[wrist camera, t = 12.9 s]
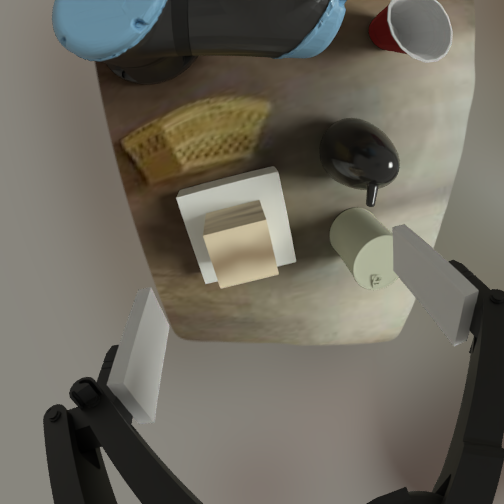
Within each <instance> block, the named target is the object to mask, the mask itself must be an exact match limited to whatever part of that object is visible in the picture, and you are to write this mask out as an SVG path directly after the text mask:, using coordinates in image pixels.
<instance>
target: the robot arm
mask: <svg viewBox="0 0 504 504" xmlns="http://www.w3.org/2000/svg"><path fill="white" fill-rule="evenodd" d="M346 1H347V0H55V2H54V6H53V12H52V13H53V14H52V22H53V28H54V32H55V35H56V37H57V39H58V40H59V42H60V43H61V44H62V45H63V46H64V47H65V48H66V49H67V50H69V51H70V52H72V53H74V54H76V55H77V56H79V57H80V58H83V59H85V60H86V59H87V60H89V61H99V62H104V63H106V64H107V65H108V67H109V68H110V69H111V70H112V71H113V72H114V73H115V74H116V75H118V76H119V77H121V78H122V79H124V80H127V81H130V82H133V83H139V84H156V83H161V82H165V81H168V80H170V79H172V78H174V77H176V76H178V75H180V74H181V73H182V72H184V71H185V70H186V69H187V68H188V67H189V66H190V65H191V64H192V63H193V62H194V61H195V59H196V58H197V56H213V55H218V56H255V57H270V58H273V59H282V58H310V57H314V56H316V55H318V54H320V53H321V52H322V51H324V50H325V49H326V48H327V47H328V46H329V44H330V43H331V42H332V40H333V39H334V37H335V36H336V34H337V32H338V30H339V28H340V26H341V23H342V21H343V18H344V15H345V11H346V9H345V8H344V4H345V2H346ZM393 271H394V272H395V273H396V274H397V276H398V277H399V278H400V279H401V280H402V282H403V283H404V284H405V285H406V286H407V288H408V289H409V290H410V291H411V292H412V294H413V295H414V296H415V297H416V299H417V300H418V301H419V302H420V303H421V305H422V306H423V307H424V308H425V310H426V311H427V312H428V314H429V315H430V316H431V317H432V318H433V320H434V321H435V322H436V324H437V325H438V326H439V328H440V329H441V330H442V332H443V333H444V334H445V335H446V337H447V338H448V339H449V341H450V342H451V344H452V345H453V346H456V345H458V344H460V343H462V342H464V341H467V338H468V335H469V331H471V333H472V334H473V335H474V338H473V342H472V345H471V348H470V351H469V353H471V356H470V362H469V368H468V374H467V379H466V384H465V390H464V394H463V399H462V403H461V408H460V411H459V415H458V419H457V423H456V427H455V431H454V434H453V438H452V441H451V444H450V448H449V451H448V454H447V457H446V460H445V463H444V466H443V469H442V471H441V474H440V476H439V478H438V480H437V482H436V484H435V486H434V488H433V491H432V492H426V491H411V492H408V491H407V488H406V487H404V488H402V489H399V490H397V491H394V492H391V493H389V494H386V495H383V496H380V497H377V498H376V499H374V500H372V501H370V502H369V503H367V504H492V503H493V500H494V496H495V493H496V489H497V486H498V482H499V478H500V474H501V469H502V465H503V461H504V449H503V448H502V446H501V445H502V439H503V433H504V291H501V290H498V289H496V290H495V289H492V290H490V289H489V288H488V287H487V286H486V285H485V284H484V283H483V282H482V281H481V280H479V279H478V278H477V277H476V276H475V275H473V273H472V272H471V271H469V270H468V269H467V268H466V267H465V266H464V265H463V264H461V263H459V262H457V261H455V260H451V261H447V260H446V259H445V258H443V257H442V256H441V255H440V254H439V253H438V252H437V251H436V250H434V249H433V248H432V247H431V246H430V245H429V244H427V243H426V242H425V241H424V240H423V239H422V238H420V237H419V236H418V235H417V234H416V233H415V232H413V231H412V230H411V229H410V228H408V227H407V226H406V225H405V224H403V225H399V226H395V227H393ZM169 327H170V326H169V324H168V322H167V320H166V318H165V316H164V314H163V312H162V309H161V308H160V305H159V303H158V301H157V299H156V297H155V294H154V292H153V290H152V288H151V287H149V288H145V289H140V290H138V292H137V295H136V298H135V301H134V303H133V306H132V309H131V312H130V314H129V317H128V320H127V323H126V326H125V329H124V332H123V335H122V338H121V341H120V344H119V345H114V346H112V347H111V348H110V350H109V351H108V352H107V353H106V356H105V359H104V363H103V365H102V368H101V369H102V370H101V371H100V374H99V377H98V380H97V383H96V381H95V380H94V379H93V378H91V377H85V378H81V379H80V380H78V381H76V382H75V383H74V384H73V386H72V387H71V389H70V392H69V394H70V398H71V399H72V400H73V401H74V403H75V404H76V405H77V406H78V407H76V408H73V409H70V410H67V409H66V408H65V407H64V406H63V405H60V404H57V405H53V406H52V407H50V408H49V409H48V410H47V411H46V413H45V415H44V419H43V422H44V423H43V424H44V436H45V446H46V455H47V463H48V470H49V476H50V483H51V488H52V494H53V499H54V504H117V501H116V499H115V496H114V493H113V490H112V487H111V484H110V481H109V478H108V474H107V471H106V468H105V465H104V461H103V458H102V454H101V452H100V447H103V449H104V450H105V452H106V453H107V455H108V456H109V458H110V460H111V461H112V462H113V464H114V466H115V467H116V469H117V470H118V471H119V473H120V474H121V476H122V477H123V479H124V480H125V481H126V483H127V484H128V486H129V487H130V488H131V490H132V491H133V492H134V494H135V495H136V496H137V498H138V499H139V500H140V502H141V503H142V504H203V503H202V502H201V501H200V500H199V499H198V498H197V497H196V496H195V495H194V494H193V493H192V492H191V491H190V490H189V489H188V488H187V487H186V486H185V485H184V484H183V483H182V482H181V481H180V480H179V479H178V478H177V477H176V476H175V475H174V474H173V473H172V471H171V470H170V469H169V468H168V467H167V466H166V465H165V464H164V463H163V461H161V459H160V458H159V457H158V456H157V455H156V453H155V452H154V451H153V450H152V449H151V448H150V446H149V445H148V444H147V443H146V442H145V440H144V439H143V438H142V437H141V436H140V434H139V433H138V432H137V431H136V429H135V428H134V427H133V426H132V425H131V423H132V417H133V418H134V419H135V420H136V421H137V422H138V424H147V423H154V422H155V415H156V407H157V400H158V393H159V386H160V380H161V374H162V367H163V361H164V355H165V350H166V344H167V338H168V332H169Z"/></svg>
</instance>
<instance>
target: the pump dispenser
mask: <svg viewBox="0 0 504 504" xmlns="http://www.w3.org/2000/svg"><path fill="white" fill-rule="evenodd" d="M320 160H321V163H322V166H323V168H324V169H325V171H326V172H327V174H328V175H329V176H330V177H331V178H333V179H334V180H335V181H337V182H339V183H341V184H343V185H345V186H348V187H351V188H354V189H360V190H367V200H366V205H367V206H369V207H374V205H375V201H376V196H377V191H378V189H379V188H382V187H385V186H387V185H389V184H390V183H391V182H393V181H394V179H395V178H396V177H397V175H398V172H399V168H400V160H399V155H398V152H397V150H396V148H395V146H394V145H393V143H392V142H391V140H390V139H389V138H388V137H387V135H386V134H385V133H384V132H383V131H381V130H380V129H379V128H377V127H376V126H374V125H373V124H371V123H369V122H367V121H364V120H361V119H357V118H346V119H342V120H339V121H337V122H336V123H334V124H333V125H331V126H330V127H329V128H328V129H327V131H326V132H325V134H324V135H323V137H322V140H321V143H320Z"/></svg>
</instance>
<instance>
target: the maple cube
mask: <svg viewBox="0 0 504 504" xmlns="http://www.w3.org/2000/svg"><path fill="white" fill-rule="evenodd" d="M203 238H204V241H205V244H206V247H207V250H208V253H209V256H210V259H211V262H212V265H213V268H214V271H215V274H216V277H217V280H218V282H219V285H220V288H225V287H229V286H233V285H237V284H242V283H246V282H250V281H254V280H258V279H262V278H266V277H270V276H274V275H278V274H279V273H278V268H277V264H276V260H275V255H274V251H273V246H272V242H271V238H270V233H269V229H268V225H267V220H266V217H265V214H264V212H263V209H262V206H261V203H260V200H257V201H252V202H248V203H244V204H241V205H237V206H233V207H229V208H225V209H221V210H217V211H213V212H210V213H206V216H205V224H204V231H203Z"/></svg>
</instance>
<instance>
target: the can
mask: <svg viewBox="0 0 504 504" xmlns="http://www.w3.org/2000/svg"><path fill="white" fill-rule="evenodd" d="M330 242H331V245H332V247H333V248H334V250H335V251H336V252H338V254H339V255H340V257H341V258H342V260H343V261H344V263H345V264H346V266H347V267H348V269H349V270H350V272H351V273H352V275H353V277H354V279H355V281H356V282H357V283H358V284H359V285H360V286H361V287H363V288H365V289H368V290H378V289H382V288H385V287H387V286H389V285H391V284H392V283H393V282H394V281H396V280H397V279H398V278H399V277H398V276H397V274H396V273H395V272H394V271H393V233H392V232H390V231H389V230H388V229H387V228H386V227H385V226H384V225H383V224H382V223H380V222H379V221H378V220H377V219H376V218H375V217H374V215H373V214H372V213H371V212H369V211H368V210H366V209H363V208H351V209H348V210H346V211H344V212H342V213H341V214H340V215H339V216H338V217H337V218H336V219H335V220H334V222H333V224H332V226H331V229H330Z"/></svg>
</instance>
